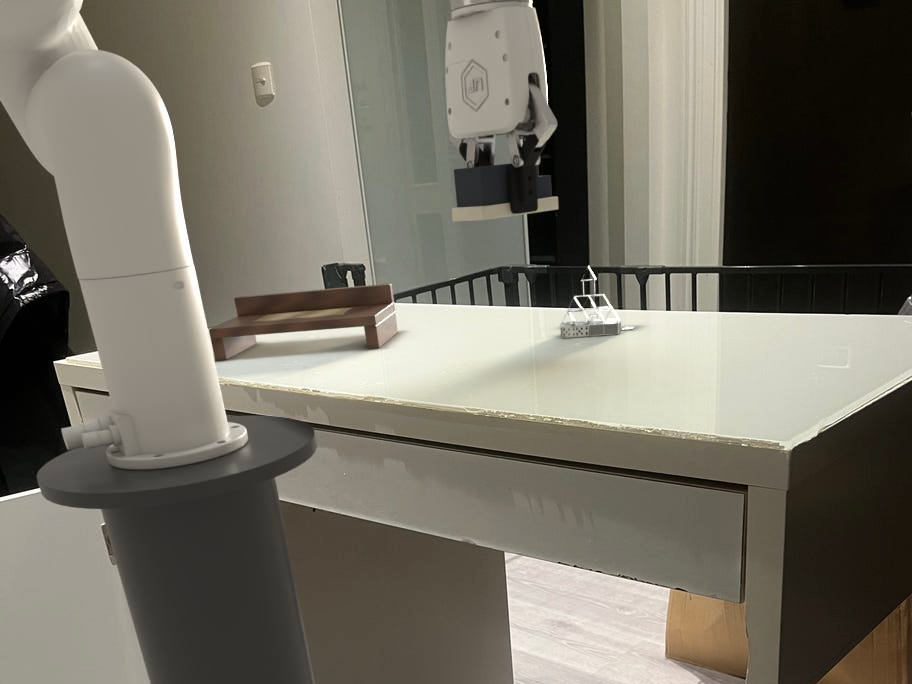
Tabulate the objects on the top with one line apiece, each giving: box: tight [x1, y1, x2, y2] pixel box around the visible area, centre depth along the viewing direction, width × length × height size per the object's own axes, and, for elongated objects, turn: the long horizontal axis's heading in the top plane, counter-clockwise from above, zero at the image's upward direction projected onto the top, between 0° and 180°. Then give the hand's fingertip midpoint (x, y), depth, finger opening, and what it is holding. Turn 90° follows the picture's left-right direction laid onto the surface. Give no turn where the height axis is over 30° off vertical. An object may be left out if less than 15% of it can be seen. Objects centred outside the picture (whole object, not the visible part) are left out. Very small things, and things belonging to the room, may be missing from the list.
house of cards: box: [559, 265, 635, 339], centre depth 116 cm, size 9×9×8 cm
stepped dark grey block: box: [451, 162, 559, 222], centre depth 95 cm, size 10×5×5 cm, turn 132°
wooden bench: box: [208, 283, 399, 362], centre depth 126 cm, size 22×12×6 cm, turn 83°
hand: (505, 211), depth 96 cm, fingers closed on stepped dark grey block, 4 cm apart
